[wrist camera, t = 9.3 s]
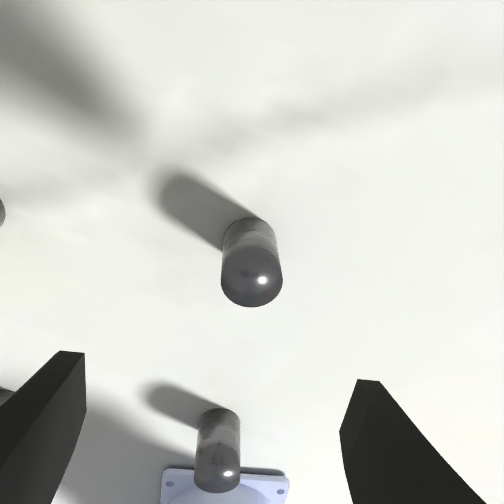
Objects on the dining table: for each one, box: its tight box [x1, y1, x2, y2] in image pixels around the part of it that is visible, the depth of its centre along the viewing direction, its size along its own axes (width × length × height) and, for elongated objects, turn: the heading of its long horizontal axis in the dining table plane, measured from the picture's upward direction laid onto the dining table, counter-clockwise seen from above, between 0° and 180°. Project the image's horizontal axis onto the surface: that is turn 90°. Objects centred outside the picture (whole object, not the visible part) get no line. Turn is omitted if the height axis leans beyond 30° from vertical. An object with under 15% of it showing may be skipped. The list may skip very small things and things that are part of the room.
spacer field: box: [0, 200, 283, 493], centre depth 21 cm, size 14×14×4 cm
